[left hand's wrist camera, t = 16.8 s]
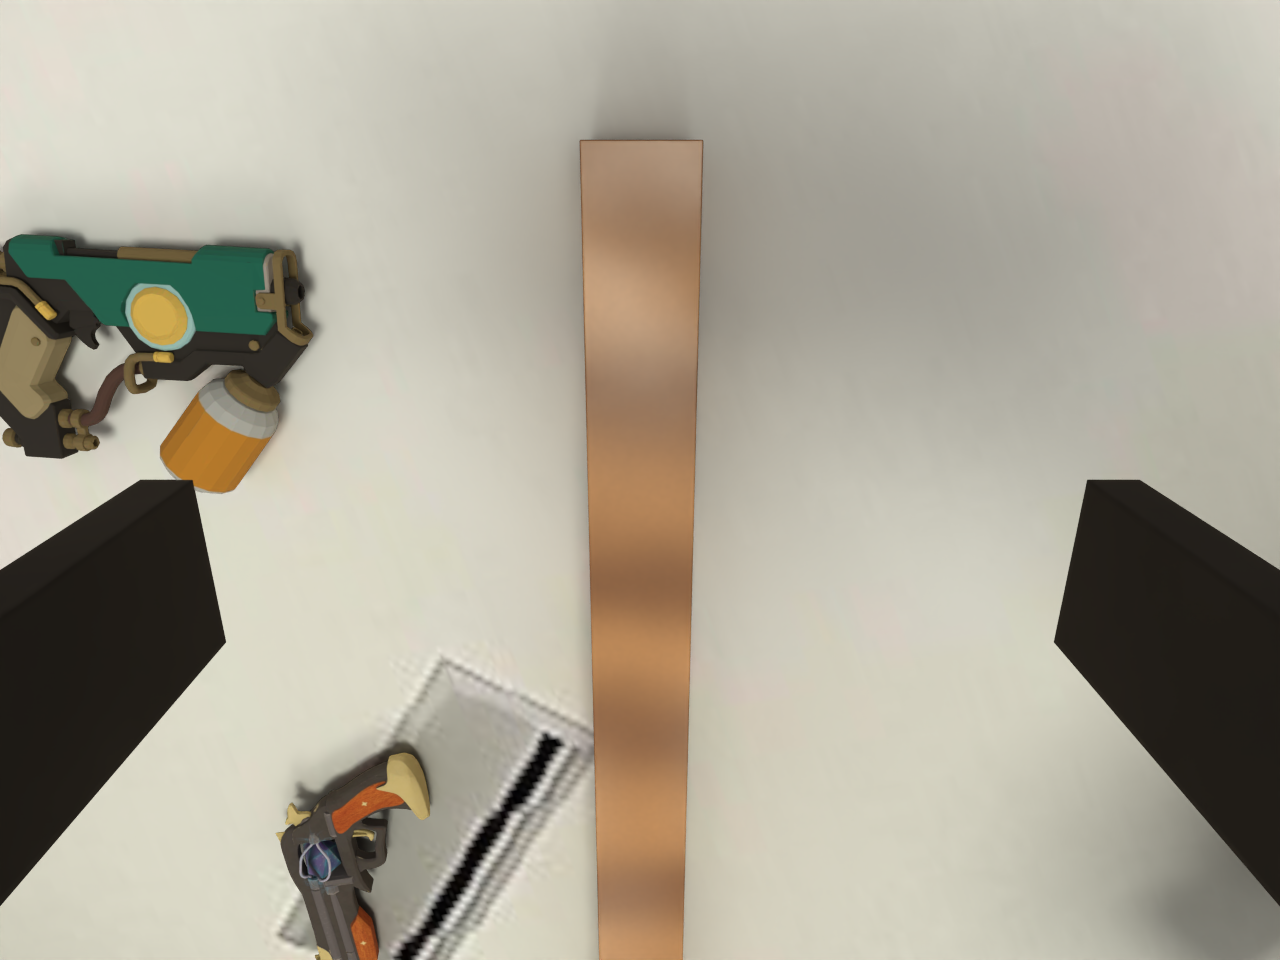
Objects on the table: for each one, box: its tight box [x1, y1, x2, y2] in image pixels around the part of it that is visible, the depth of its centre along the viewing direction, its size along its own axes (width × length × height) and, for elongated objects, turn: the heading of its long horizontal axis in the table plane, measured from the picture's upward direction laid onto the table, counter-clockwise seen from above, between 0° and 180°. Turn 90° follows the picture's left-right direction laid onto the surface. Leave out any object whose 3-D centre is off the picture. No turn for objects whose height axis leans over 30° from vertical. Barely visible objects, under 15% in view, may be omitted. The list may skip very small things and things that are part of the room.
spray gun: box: [0, 234, 313, 494], centre depth 43 cm, size 4×17×15 cm
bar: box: [580, 140, 703, 960], centre depth 52 cm, size 80×5×8 cm, turn 0°
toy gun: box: [276, 753, 430, 960], centre depth 56 cm, size 3×19×10 cm
